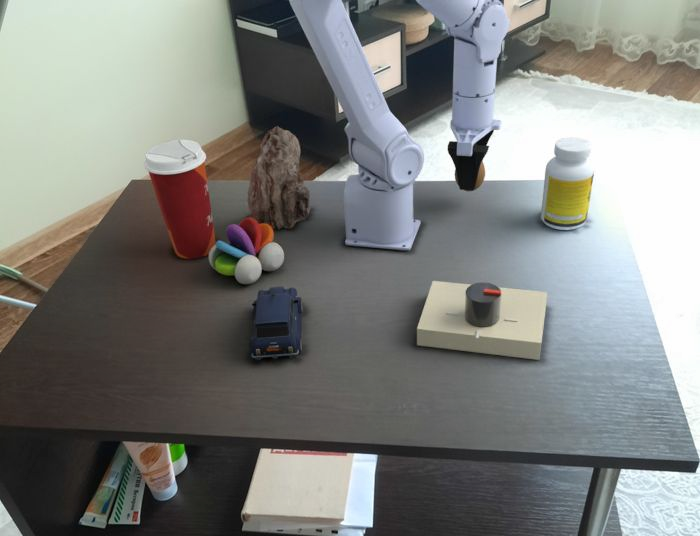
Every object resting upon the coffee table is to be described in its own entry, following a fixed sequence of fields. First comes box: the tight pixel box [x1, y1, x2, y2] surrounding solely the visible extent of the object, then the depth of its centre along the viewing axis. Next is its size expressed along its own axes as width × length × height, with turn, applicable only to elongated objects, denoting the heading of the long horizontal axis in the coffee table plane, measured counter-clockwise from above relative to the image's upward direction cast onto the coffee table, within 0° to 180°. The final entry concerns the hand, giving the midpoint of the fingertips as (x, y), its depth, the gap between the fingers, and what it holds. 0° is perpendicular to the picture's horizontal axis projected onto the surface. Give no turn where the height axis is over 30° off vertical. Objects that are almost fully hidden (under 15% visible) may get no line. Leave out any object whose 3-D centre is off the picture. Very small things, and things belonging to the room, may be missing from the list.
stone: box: [247, 125, 311, 230], centre depth 106 cm, size 15×8×10 cm
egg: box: [454, 161, 486, 192], centre depth 108 cm, size 4×4×6 cm
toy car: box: [248, 286, 303, 361], centre depth 87 cm, size 6×12×6 cm, turn 2°
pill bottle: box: [540, 136, 595, 231], centre depth 102 cm, size 6×6×12 cm
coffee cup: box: [143, 139, 217, 260], centre depth 101 cm, size 8×8×15 cm
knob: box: [465, 282, 501, 327], centre depth 84 cm, size 4×4×4 cm
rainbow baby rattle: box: [208, 216, 285, 285], centre depth 98 cm, size 8×10×7 cm
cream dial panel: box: [416, 280, 548, 361], centre depth 86 cm, size 14×11×3 cm
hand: (469, 181), depth 109 cm, fingers closed on egg, 4 cm apart
